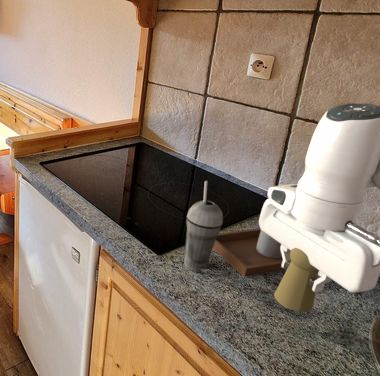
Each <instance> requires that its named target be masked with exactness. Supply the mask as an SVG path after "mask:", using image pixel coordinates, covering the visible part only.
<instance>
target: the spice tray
mask: <svg viewBox="0 0 380 376" xmlns="http://www.w3.org/2000/svg"><path fill="white" fill-rule="evenodd" d="M260 231H261V229H260V227H256V228H249V229H241V230H233V231H226V232H219V233H218V234H217V237H216V240H215V243H214V246H213V249H212V250H214V252H215V253H217V254H218V255H219V256H220V257H221V258H223V259H224V261H226V262H227V263H228V264H229V265H230V266H231V267H232V268H233V269H235V270H236V271H237V272H239V274H240V275H241V276H243V278H245V277H251V276H257V275H263V274H264V275H265V274H269V273H270V274H271V273H276V272H280V271H286V270H285V269H284V268H282V267H281V265H282V262H283V258H270V257H266V256H264V255H262V254H260V253H259V252H258V251H257V250H256V245H257V242H258V238H259V235H260Z"/></svg>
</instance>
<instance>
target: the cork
mask: <svg viewBox="0 0 380 376" xmlns="http://www.w3.org/2000/svg"><path fill="white" fill-rule="evenodd" d="M290 259H291V263H290V265H289V267H288V269H287V271H286V270H285V273H284V274H283V276H282V279H281V280H280V282H279V284H278V286H277V288H276V290H275V292H274V294H273V296H274V299H275V300H276V302H277V303H279V304H280V305H281V306H283V307H284V308H286V309H288V310H291V311H294V312H298V313H307V312H310V311H312V310H313V308H314V303H315V298H316V293H315V292H314V291H312V290H311V289H310V288H309V287H308V284H309V279H313V278H314V279H315V278H317V277H318V278H319V275H318V272H319V270H318V269H317V268H315V267H314V266H312V265H311V264H310V262H309V259H308V256H307V255H306V254H305V253H304V252H303V251H302V250H300V249H298V248H293V249H292V250H291V252H290Z"/></svg>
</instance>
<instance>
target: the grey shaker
mask: <svg viewBox="0 0 380 376" xmlns="http://www.w3.org/2000/svg"><path fill="white" fill-rule="evenodd" d="M280 247H281V243H279V242H278V241H276V240H275V239H273V238H272V237H271V236H269V235H268V234H266V233H265V232H263V231H262V230H261V231H260V235H259V238H258V242H257V245H256V250H257V251H258V252H259V253H260V254H262V255H264V256H266V257H270V258H282V254H281V249H280Z"/></svg>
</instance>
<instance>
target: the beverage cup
mask: <svg viewBox="0 0 380 376" xmlns="http://www.w3.org/2000/svg"><path fill="white" fill-rule="evenodd" d="M207 193H208V180H205V181H204V187H203V200H200V201H197V202H195V203H193V204H192V206H190V208H189V209H188V211H187V214H186V216H185V219H186V234H185V235H186V236H185V237H186V238H185V245H184V246H185V247H184V254H183V255H184V257H183V258H184V260H183V261H184V262H183V265H184V266H185V268H186V269H188V270H190V271H193V272H202V269H205V268H206V267H207V265H208V263H209V260H210V257H211V255H212V251H213V250H214V249H213V246H214V243H215V240H216V237H217V234H218V233H220V231H221V229H222V227H223V226H224V216H223V212H222V210H221V208H220V207H219V205H218V204H217V203H215V202H213V201H210V200H207V195H208V194H207Z"/></svg>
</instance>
